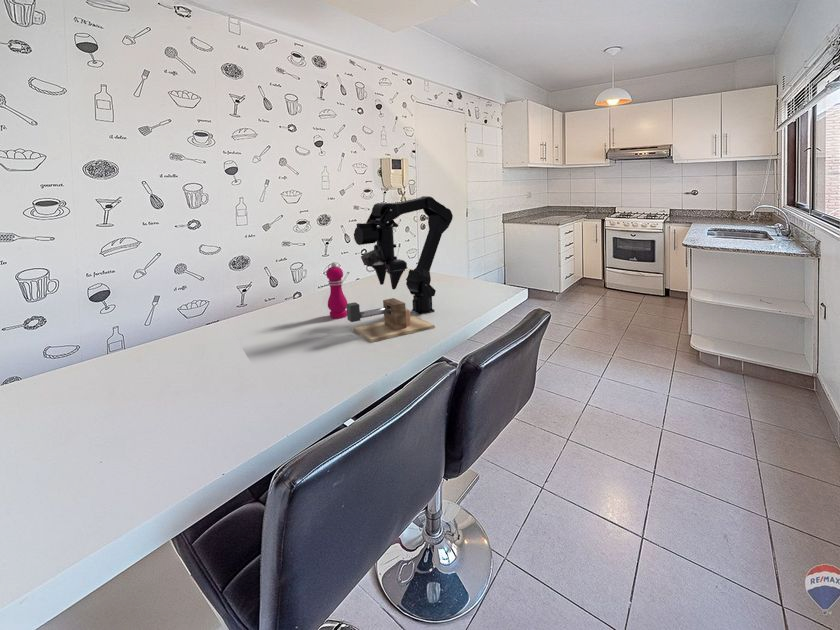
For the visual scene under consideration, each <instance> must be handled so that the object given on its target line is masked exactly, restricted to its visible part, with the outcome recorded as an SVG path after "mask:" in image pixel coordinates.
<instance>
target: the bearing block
mask: <svg viewBox="0 0 840 630" xmlns="http://www.w3.org/2000/svg"><path fill="white" fill-rule="evenodd" d="M382 305H383V307H382V308H384V307H389V306H391V313H385V314H383V318H384V319H383V320H384V323H385V325H387V326H389V327H391V328H392V329H394V330H399V329H404V328H406V309H407V308H406V302H404V301H401V300H399V299H397V298H394V297H393V298H388V299H386V298H385V299H383V300H382Z"/></svg>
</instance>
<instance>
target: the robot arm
mask: <svg viewBox="0 0 840 630" xmlns="http://www.w3.org/2000/svg"><path fill="white" fill-rule="evenodd" d="M421 210H422V211H423V212H424V214H425V215H426V216H427V217H428V222H427V223H428V225H427V226H428V233H427V235H426V238H425V241H424V244H423V248H422V250H421V253H420V256H419V259H418V262H417V264H416V265H417V266H416V267H415V268H414V269H409V271H408V275H407V277H406V279H405V281H406V284H405V285H406V287H407V289H408V290H409V293H410V295H412V296H413V297H412V298H413V299H412V309H411V311H412V312H414V313H416V314H419V315H423V314H428V313H433V312H435V310H436V309H433V297H435V296H436V289H435V288H434V287H433V286H432V285H431V272H430V271H431V268H432V265H433V262H434V259H435V256H436V253H437V250H438V248H439V244H440V241H441V238H442V235H443V233H445V231H447V229H448V228H450V227H449V226H450V225H451V223H452V221H453V218H454V215H453V211H452V210H451V209H450V208H448V207H446V206H445V205H444V204H442V203H440V202H439V201H437V200H436V199H435V198H434V197H432V196H427V195H425V196H424V195H423V196H420V197H416V198H413V199H408V200H404V201H400V202H399V201H398V202H377V203H375V204H374V205H373V207H372V209H371V213H370V214H369V216H368V218H367V220H366V222H364V223H361V222H359V223H356V227H355V229H354V233H353V238H354V242H355V243H356V245H359V246H362V245H369V244H374V246H373V249H372V250H370V251H368V252H366V253H364V254H362V255H361V256H360V259H361V261H362V263H363V265H364V266H367V267H371V268H372V269H373V270H374V271H375V273H376V276H377V279H378V281H379V284H380V285H381V286H382V285H384V284H385V279H386V274H389V280H390V284H391V285H390V286H391V289H392V290H396V289H397V286H398V284H399V282H400V279H401V277H402V275H403V273H404V272H405V271H406V270H408V263H407V262H406V261H405V260H404V259H399V258H398V257H397V256H396V255H395V249H396V248H397V244H395V243H394V242H395V240H394V228H398V227H399V224H398V223H396V221H395V220H396V219H398V218H399V217H400V216H401V215H404V214H408V213H412V212H416V211H421ZM375 243H376V244H375Z"/></svg>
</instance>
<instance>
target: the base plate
mask: <svg viewBox="0 0 840 630" xmlns="http://www.w3.org/2000/svg"><path fill="white" fill-rule="evenodd" d="M431 328H432V329H435V328H436V325H435V324H434V323H431V322H430V321H427V320H425V319H422V318H421V317H418V316H416V315H414V314H413V315H410V326H407V327H406V328H404V329H399V330H394V329H392V328H391V327H389V326H387V325H385V323H384V321H383V320H382V321H378V322H374V323H368V324H364V325H360V326H359V325H358V326H355V327H353V331H354V332H356V333H357V334H358V335H360V336H362V337H363V338H364V339H366V340H367V341H369V342H370V343H374V342H379V341H384V340H387V339H392V338H393V339H394V338H395V337H400V336H406V335H409V334H414V333H418V332H423V331H427V329H428V330H430V329H431ZM432 329H431V330H432Z"/></svg>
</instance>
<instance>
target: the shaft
mask: <svg viewBox="0 0 840 630" xmlns="http://www.w3.org/2000/svg"><path fill="white" fill-rule="evenodd" d="M346 307H347V308H346V311H347V316H346V317H347V321H349V322H351V323H355V322H360V321H361V319H365V318H369V317H375V316H379V315H384V314H385V313H391V306H389V307H384V308H383V307H380V308H376V309H370V310H364V311H360V309H361V308H360V304H359V303H357V302H350V303H348V302H347V304H346Z"/></svg>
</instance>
